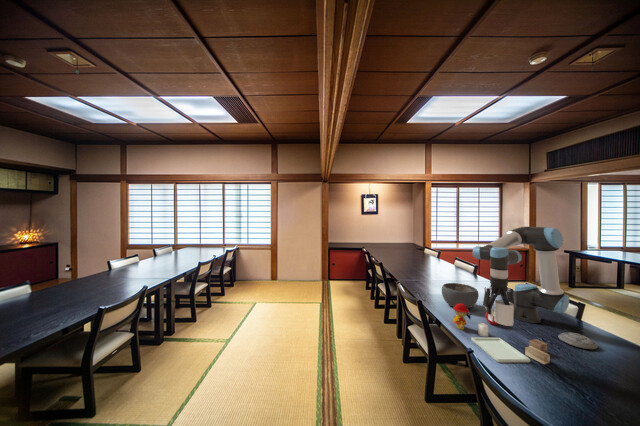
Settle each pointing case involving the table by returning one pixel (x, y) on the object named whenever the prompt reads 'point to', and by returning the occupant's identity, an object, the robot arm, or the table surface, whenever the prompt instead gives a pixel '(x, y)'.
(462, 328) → the toy
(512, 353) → the tray
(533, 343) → the walnut cube
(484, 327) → the round-ended white cylinder
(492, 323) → the apple
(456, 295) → the bowl
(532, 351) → the maple block
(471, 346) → the table surface
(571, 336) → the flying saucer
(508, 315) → the mug
